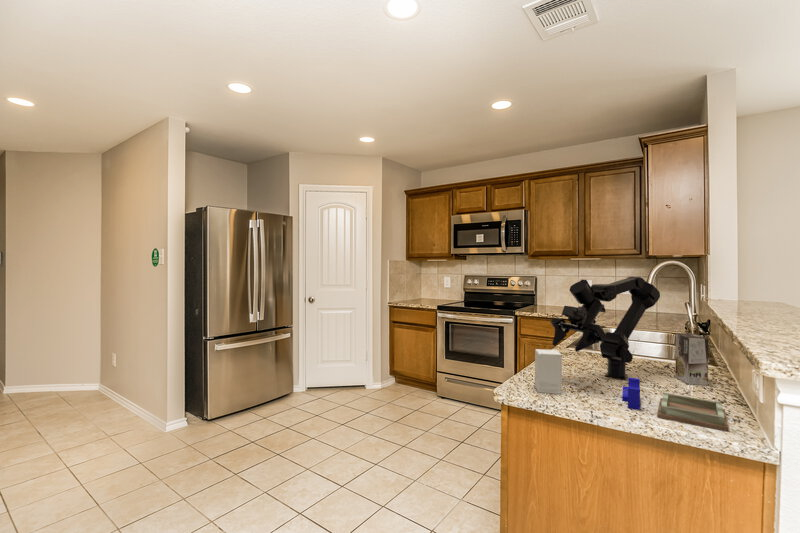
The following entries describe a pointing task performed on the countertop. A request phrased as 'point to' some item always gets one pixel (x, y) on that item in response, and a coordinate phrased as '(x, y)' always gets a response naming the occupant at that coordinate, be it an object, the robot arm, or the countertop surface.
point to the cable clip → (632, 393)
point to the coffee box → (692, 358)
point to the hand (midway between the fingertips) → (564, 347)
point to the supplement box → (548, 371)
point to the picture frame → (693, 411)
